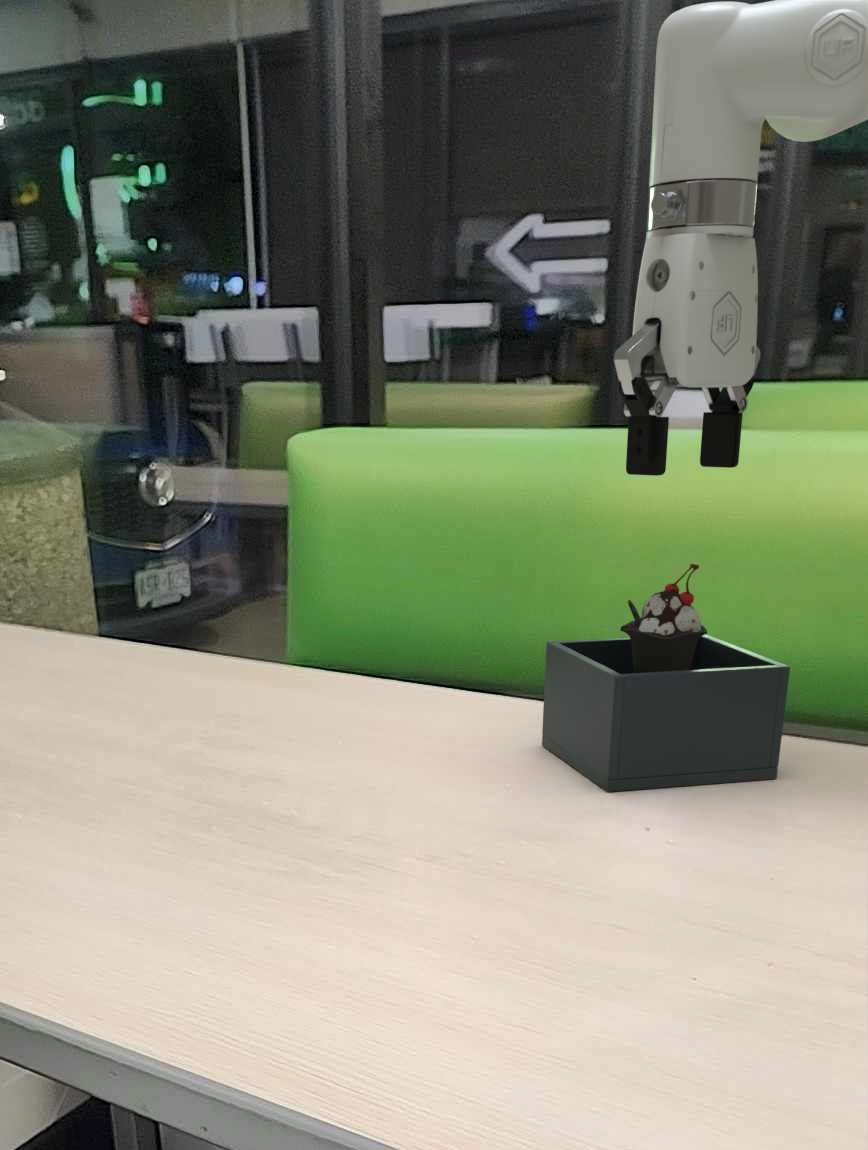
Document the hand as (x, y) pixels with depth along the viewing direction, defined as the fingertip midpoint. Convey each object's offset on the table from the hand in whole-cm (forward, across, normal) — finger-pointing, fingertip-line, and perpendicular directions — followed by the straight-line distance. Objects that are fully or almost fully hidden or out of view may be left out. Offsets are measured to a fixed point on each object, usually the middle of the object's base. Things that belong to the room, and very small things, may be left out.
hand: (683, 470), depth 102 cm
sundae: (+22, 0, +1) cm, 22 cm away
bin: (+23, 0, +1) cm, 23 cm away
